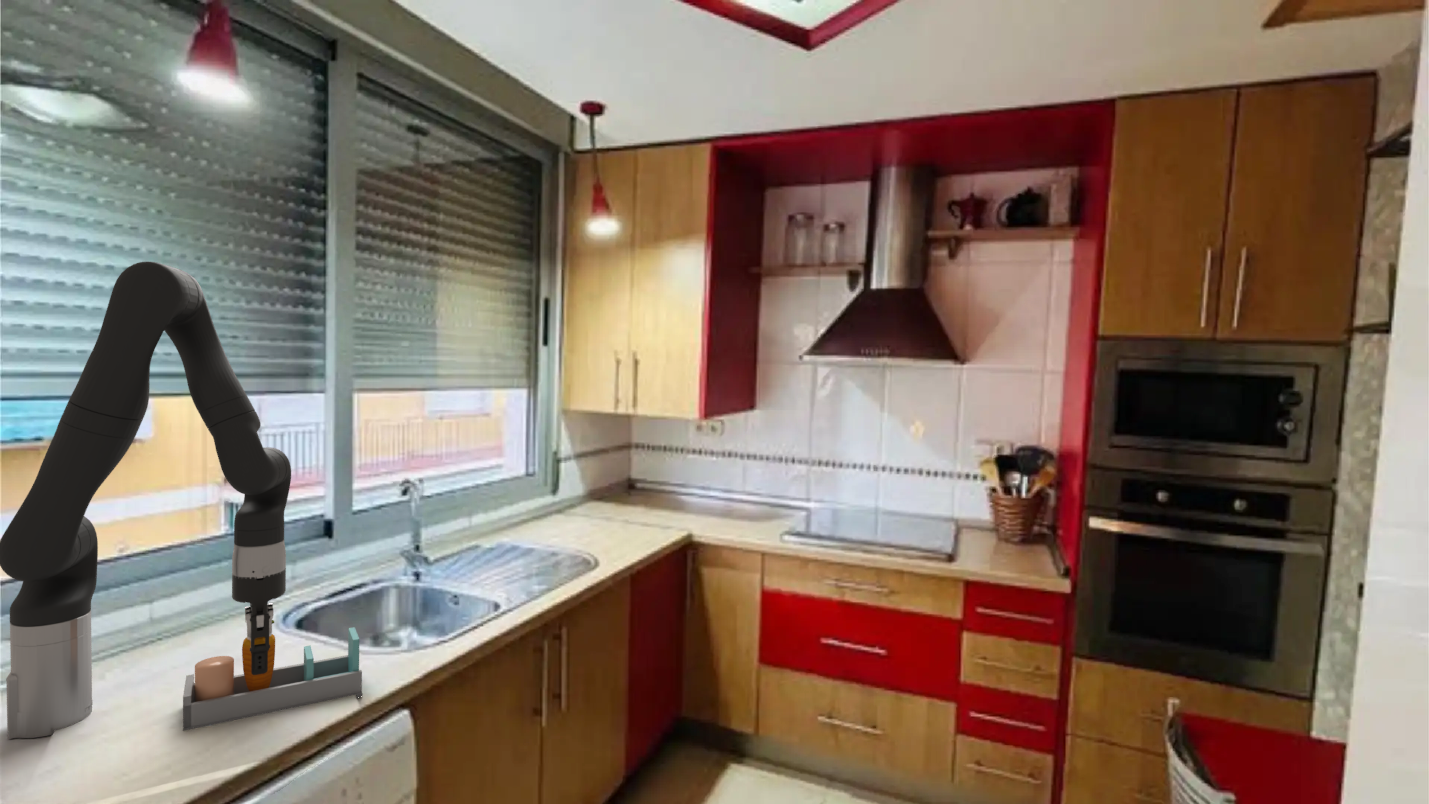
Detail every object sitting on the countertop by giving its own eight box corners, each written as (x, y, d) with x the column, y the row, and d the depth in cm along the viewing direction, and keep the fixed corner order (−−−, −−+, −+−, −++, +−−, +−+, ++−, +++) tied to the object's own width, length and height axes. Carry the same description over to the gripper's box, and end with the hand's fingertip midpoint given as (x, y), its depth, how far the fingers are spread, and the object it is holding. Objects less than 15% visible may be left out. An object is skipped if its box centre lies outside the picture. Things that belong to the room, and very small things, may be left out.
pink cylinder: (194, 721, 111) (193, 672, 110) (195, 707, 115) (195, 660, 115) (233, 713, 114) (233, 665, 113) (234, 699, 118) (234, 653, 118)
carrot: (269, 691, 121) (269, 606, 120) (281, 700, 118) (281, 613, 117) (236, 702, 117) (236, 614, 116) (248, 711, 114) (247, 622, 114)
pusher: (306, 699, 119) (306, 648, 119) (303, 684, 124) (304, 635, 124) (358, 688, 124) (359, 639, 123) (354, 674, 129) (354, 627, 128)
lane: (182, 735, 108) (182, 699, 108) (186, 707, 116) (186, 673, 116) (362, 697, 122) (362, 664, 122) (354, 675, 130) (354, 644, 130)
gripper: (232, 560, 120) (232, 652, 121) (231, 583, 109) (231, 685, 109) (283, 555, 125) (282, 644, 125) (288, 577, 113) (287, 675, 114)
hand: (258, 663), depth 117 cm, fingers open, 8 cm apart
